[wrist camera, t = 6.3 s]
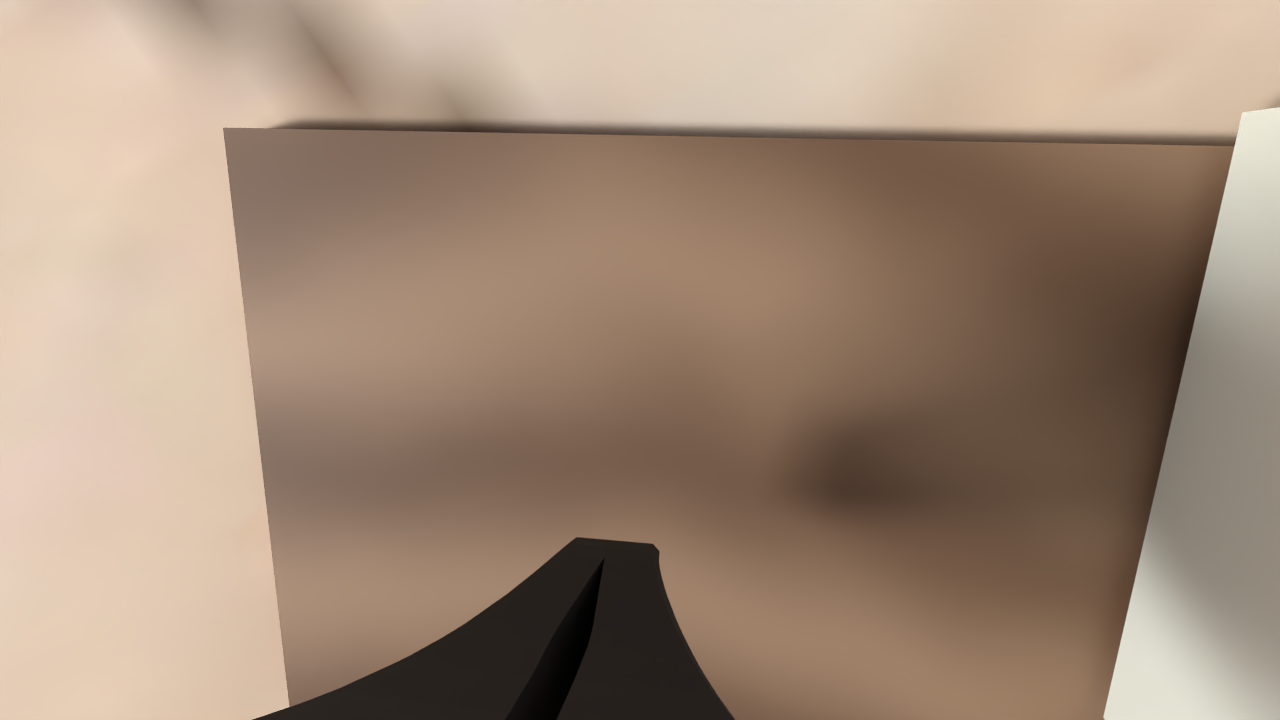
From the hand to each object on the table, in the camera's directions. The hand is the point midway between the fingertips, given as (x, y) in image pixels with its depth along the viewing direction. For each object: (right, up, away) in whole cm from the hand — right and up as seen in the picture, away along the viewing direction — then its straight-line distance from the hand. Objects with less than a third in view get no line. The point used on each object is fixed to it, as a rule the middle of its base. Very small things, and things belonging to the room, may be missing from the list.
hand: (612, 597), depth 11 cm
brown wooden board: (+3, +1, +5) cm, 6 cm away
